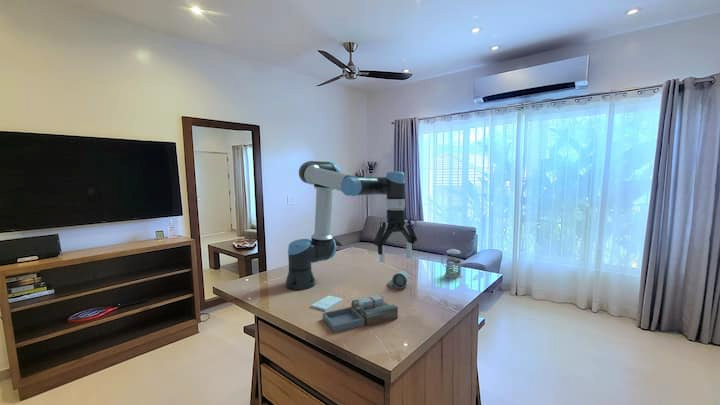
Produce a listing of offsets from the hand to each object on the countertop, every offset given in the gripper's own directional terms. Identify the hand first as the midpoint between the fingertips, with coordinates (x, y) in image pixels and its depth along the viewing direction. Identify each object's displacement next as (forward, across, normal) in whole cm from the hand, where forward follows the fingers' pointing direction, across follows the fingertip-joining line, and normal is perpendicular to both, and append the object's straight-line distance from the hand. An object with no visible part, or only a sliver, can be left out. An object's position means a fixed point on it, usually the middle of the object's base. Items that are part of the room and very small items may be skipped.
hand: (395, 260), depth 123 cm
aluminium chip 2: (+18, -10, 0) cm, 20 cm away
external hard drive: (+22, -24, +19) cm, 37 cm away
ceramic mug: (+21, +17, +23) cm, 35 cm away
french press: (+21, +53, +22) cm, 61 cm away
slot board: (+21, -11, 0) cm, 24 cm away
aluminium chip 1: (+18, -15, 0) cm, 23 cm away
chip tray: (+21, -24, 0) cm, 32 cm away
